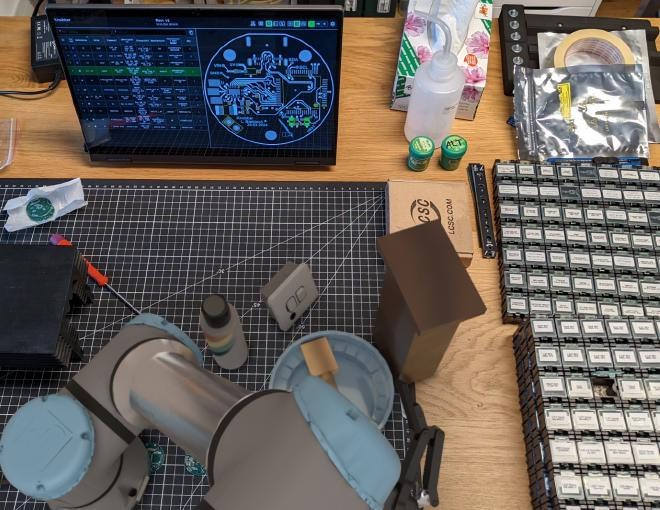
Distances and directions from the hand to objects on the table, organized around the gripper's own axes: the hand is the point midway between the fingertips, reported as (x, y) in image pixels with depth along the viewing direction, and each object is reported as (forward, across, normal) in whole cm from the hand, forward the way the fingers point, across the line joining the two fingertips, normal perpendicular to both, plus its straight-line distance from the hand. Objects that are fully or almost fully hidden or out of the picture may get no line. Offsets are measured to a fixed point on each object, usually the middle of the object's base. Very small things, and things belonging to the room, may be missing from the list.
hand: (351, 399), depth 78 cm
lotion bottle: (+6, -13, -29) cm, 32 cm away
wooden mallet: (-5, 0, -16) cm, 17 cm away
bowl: (-5, 0, -22) cm, 23 cm away
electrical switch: (+10, -1, -31) cm, 33 cm away
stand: (-3, +14, -24) cm, 28 cm away
